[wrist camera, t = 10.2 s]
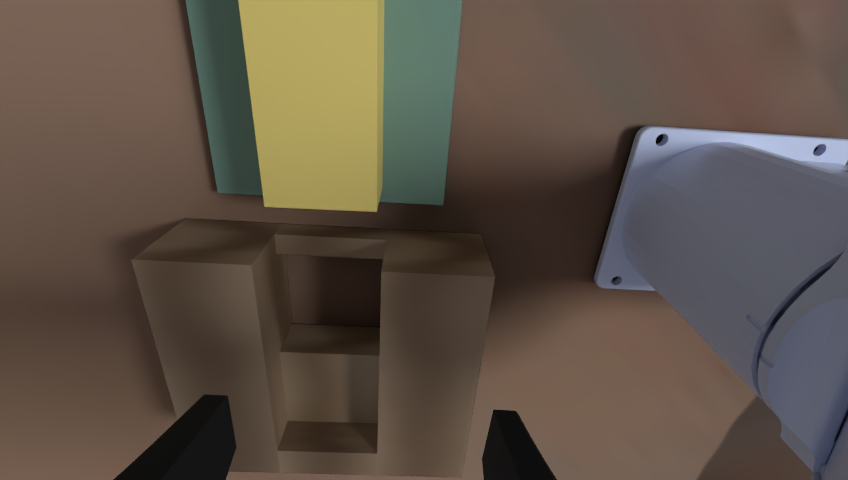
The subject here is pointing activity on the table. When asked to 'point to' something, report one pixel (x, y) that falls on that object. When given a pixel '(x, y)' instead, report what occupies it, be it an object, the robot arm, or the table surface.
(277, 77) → the slab
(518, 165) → the table surface
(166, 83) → the table surface
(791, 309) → the robot arm
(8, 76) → the table surface
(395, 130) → the mat
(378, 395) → the pocket board
